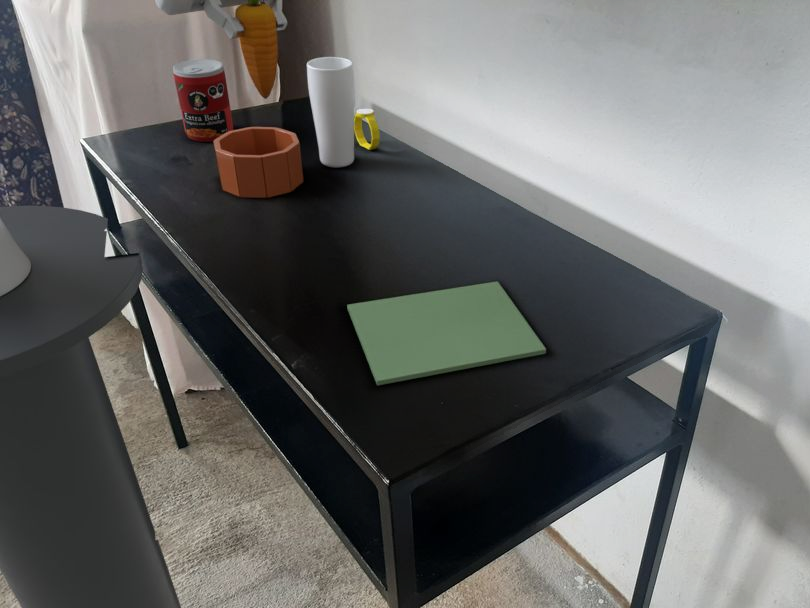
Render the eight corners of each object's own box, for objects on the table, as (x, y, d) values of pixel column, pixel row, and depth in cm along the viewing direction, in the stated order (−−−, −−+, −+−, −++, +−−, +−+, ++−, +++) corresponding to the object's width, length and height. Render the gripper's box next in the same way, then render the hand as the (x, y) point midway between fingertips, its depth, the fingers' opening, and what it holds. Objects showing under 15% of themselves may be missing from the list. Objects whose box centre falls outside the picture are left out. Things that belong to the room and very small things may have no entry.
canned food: (181, 142, 118) (166, 73, 111) (192, 125, 124) (179, 58, 118) (229, 143, 119) (218, 73, 112) (237, 125, 125) (227, 59, 118)
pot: (224, 202, 101) (217, 161, 98) (218, 168, 110) (211, 129, 107) (308, 193, 105) (304, 153, 101) (295, 161, 114) (291, 123, 110)
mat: (377, 385, 71) (376, 381, 70) (347, 309, 81) (347, 304, 81) (545, 353, 76) (546, 349, 75) (497, 285, 86) (497, 281, 86)
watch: (384, 151, 118) (383, 115, 114) (369, 155, 117) (367, 118, 113) (365, 139, 122) (363, 104, 118) (350, 143, 120) (348, 107, 117)
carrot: (252, 91, 97) (234, -34, 88) (288, 93, 97) (275, -32, 88) (241, 103, 93) (222, -26, 84) (279, 105, 93) (265, -24, 84)
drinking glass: (328, 151, 117) (320, 54, 108) (366, 158, 116) (361, 60, 107) (307, 166, 112) (297, 66, 103) (347, 173, 110) (340, 72, 101)
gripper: (127, -84, 81) (189, 28, 81) (281, -92, 93) (334, 4, 94) (118, -44, 86) (176, 60, 86) (265, -58, 98) (316, 34, 99)
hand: (260, 31), depth 90 cm, fingers closed on carrot, 5 cm apart
